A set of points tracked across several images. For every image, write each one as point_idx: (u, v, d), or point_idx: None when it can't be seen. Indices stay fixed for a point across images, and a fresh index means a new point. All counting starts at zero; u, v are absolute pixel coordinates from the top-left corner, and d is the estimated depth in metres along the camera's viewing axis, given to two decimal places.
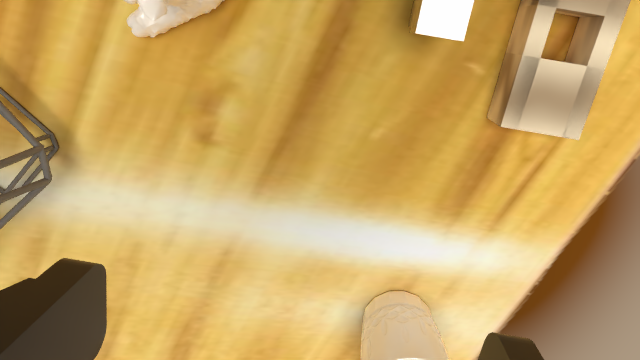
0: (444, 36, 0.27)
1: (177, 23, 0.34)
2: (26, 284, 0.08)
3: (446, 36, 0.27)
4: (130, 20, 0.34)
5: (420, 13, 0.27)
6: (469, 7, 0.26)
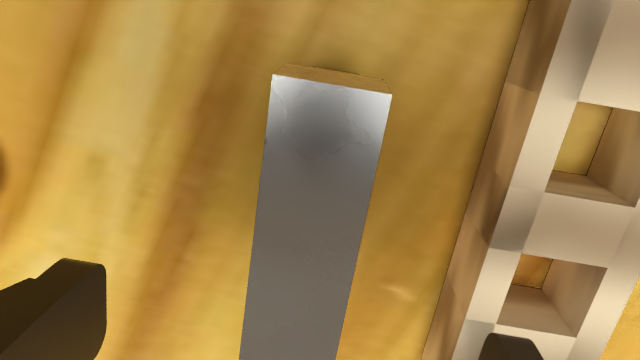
0: None
1: None
2: (26, 284, 0.08)
3: None
4: None
5: (243, 329, 0.14)
6: (337, 325, 0.13)
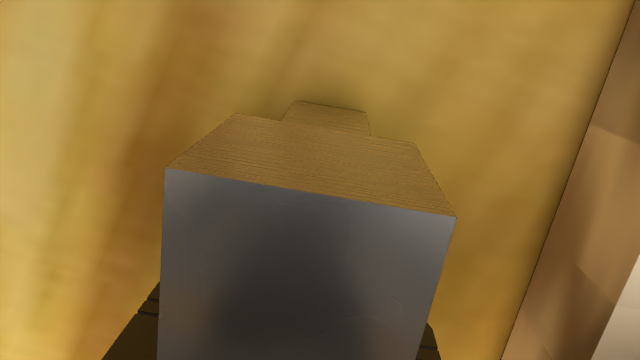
0: None
1: None
2: None
3: None
4: None
5: None
6: None
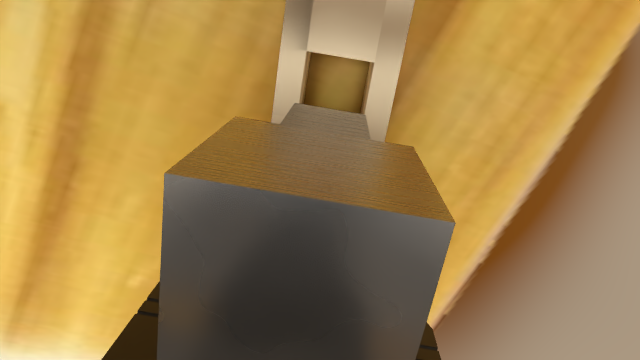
0: None
1: None
2: None
3: None
4: None
5: None
6: None
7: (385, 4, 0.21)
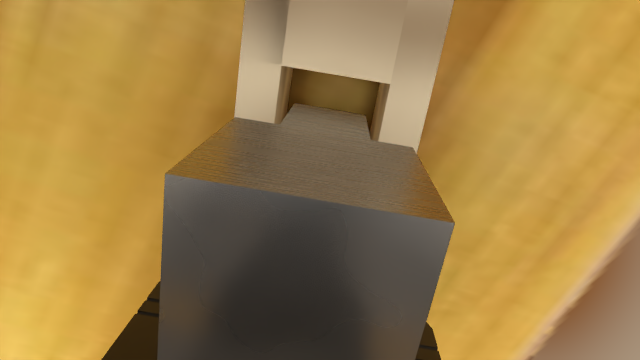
0: None
1: None
2: None
3: None
4: None
5: None
6: None
7: None
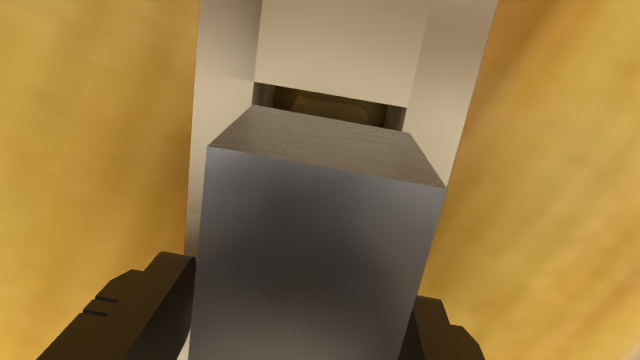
0: None
1: None
2: (131, 274, 0.09)
3: None
4: None
5: None
6: None
7: None
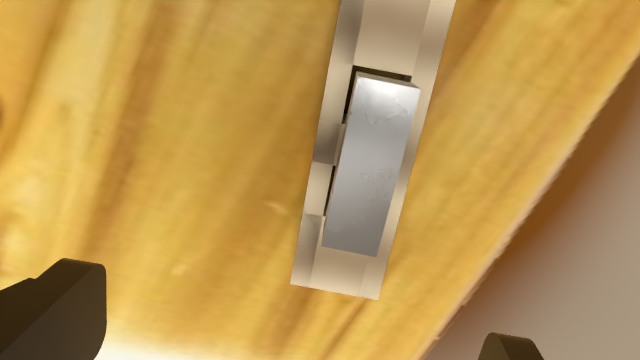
0: (354, 251, 0.23)
1: None
2: (26, 284, 0.08)
3: (356, 251, 0.23)
4: None
5: (326, 226, 0.23)
6: (382, 224, 0.23)
7: (424, 26, 0.24)
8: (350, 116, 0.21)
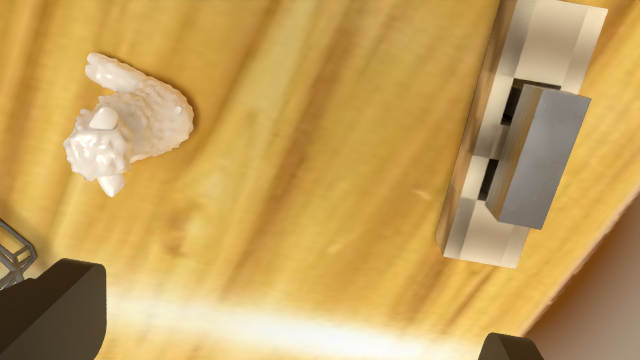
0: (524, 225, 0.30)
1: (143, 157, 0.36)
2: (26, 284, 0.08)
3: (525, 225, 0.30)
4: None
5: (503, 206, 0.29)
6: (548, 203, 0.29)
7: (574, 46, 0.30)
8: (533, 120, 0.27)
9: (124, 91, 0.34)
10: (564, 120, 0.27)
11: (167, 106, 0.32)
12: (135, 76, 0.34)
